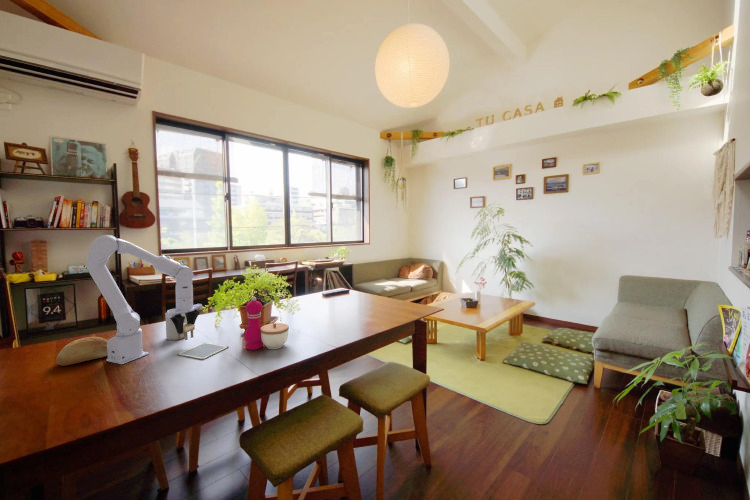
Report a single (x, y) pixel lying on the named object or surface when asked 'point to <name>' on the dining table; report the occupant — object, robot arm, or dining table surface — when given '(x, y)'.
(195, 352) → the mat
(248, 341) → the pepper mill
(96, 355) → the bread roll
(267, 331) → the lidded jar
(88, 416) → the dining table surface
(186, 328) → the small wooden stool
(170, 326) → the can
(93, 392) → the dining table surface
